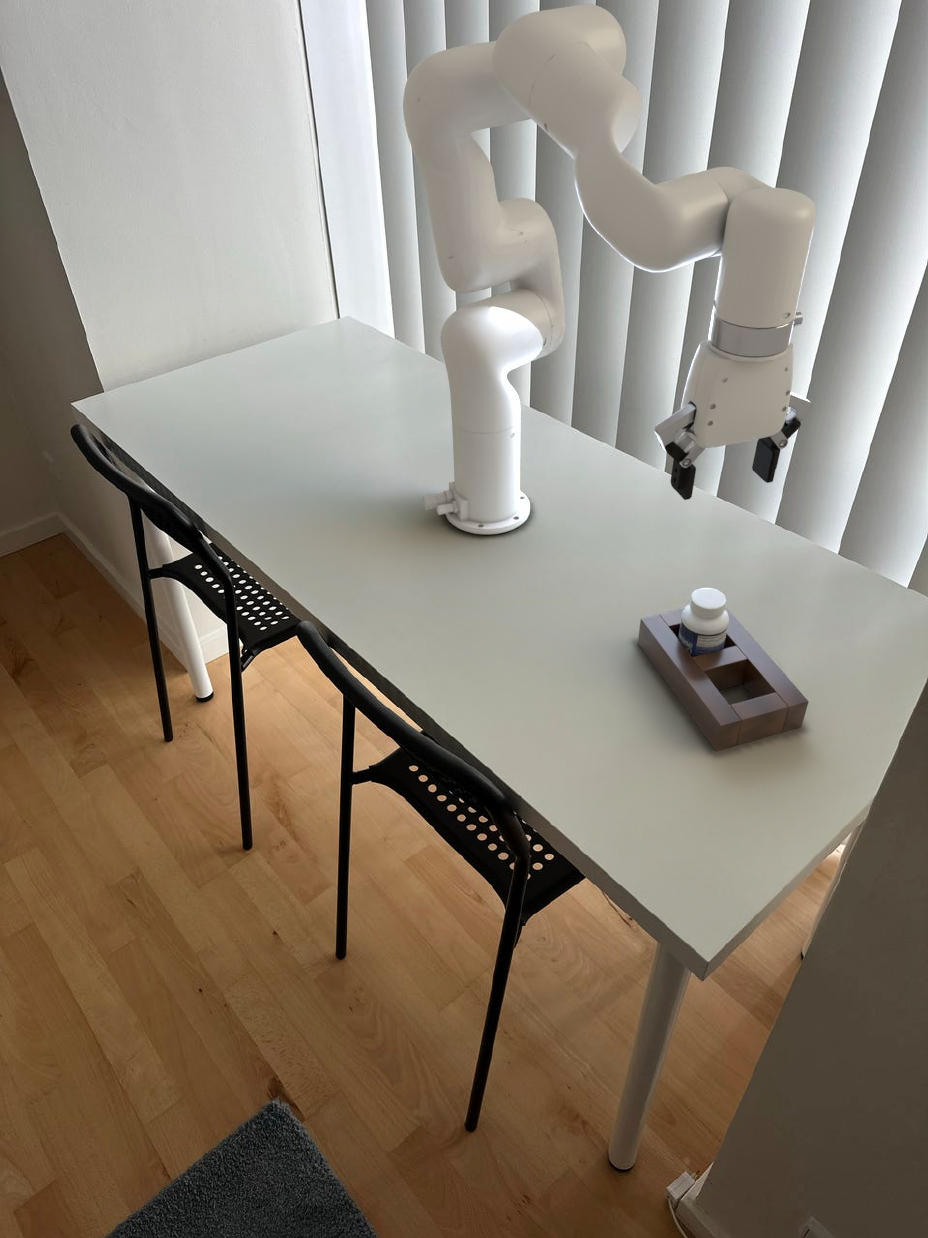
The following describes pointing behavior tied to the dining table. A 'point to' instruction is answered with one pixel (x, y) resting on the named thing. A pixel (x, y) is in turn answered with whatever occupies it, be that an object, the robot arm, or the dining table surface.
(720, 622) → the pill bottle
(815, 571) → the dining table surface
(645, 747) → the dining table surface
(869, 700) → the dining table surface
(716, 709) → the stand
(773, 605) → the dining table surface
